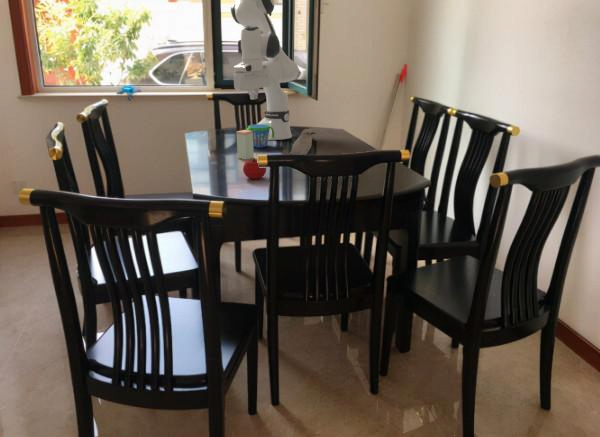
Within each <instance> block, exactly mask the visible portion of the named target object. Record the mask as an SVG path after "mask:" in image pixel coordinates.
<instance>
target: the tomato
mask: <svg viewBox="0 0 600 437" xmlns="http://www.w3.org/2000/svg"><path fill="white" fill-rule="evenodd" d="M242 172H243V174H244V176H245V177H247V178H248V179H250V180H260V179H261V178H263V177H264V176H265V174H266V172H267V167H266V168H259V167H258V163H257V158H255V157H254V158H251V159H248V160H245V162H244V164H243V168H242Z"/></svg>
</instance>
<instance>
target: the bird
mask: <svg viewBox="0 0 600 437" xmlns="http://www.w3.org/2000/svg"><path fill="white" fill-rule="evenodd" d="M315 134H316V132H314V131H313V130H312V129H309V128H305V129H303V130H302V131H301V132H300V135H299V136H298V137H297V139H296V140H295V141H294V144H293V146H292V147H291V150H290V151H289V152H288V155H289V154H306V155H307V154H308V153H309V151H310V149H311V148H312V143H313V139H312V138H313V135H315Z"/></svg>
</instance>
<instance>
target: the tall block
mask: <svg viewBox="0 0 600 437" xmlns="http://www.w3.org/2000/svg"><path fill="white" fill-rule="evenodd" d="M236 150H237V159H238V158H242V159H241V160H243V159H248V160H251V159H254V158H255V157H254V156H255V155H254V147H253V131H249V130H246V129H242V130H238V131H236ZM253 157H254V158H253ZM250 158H251V159H250Z"/></svg>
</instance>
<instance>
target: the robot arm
mask: <svg viewBox="0 0 600 437" xmlns="http://www.w3.org/2000/svg"><path fill="white" fill-rule="evenodd" d="M274 9H275V0H234V2H233V4H232V5H231V7H230V14H231V16H232V18H233V21H234V22H235V23H237V24H238V25H241V26H242V28H241V32H240V36H239V37H238V39H236V42H237V49H238V50H237V53H238V54H239V55H240V56H241V62H239V63H238V64H236V65H234V66H233V67H232V68H233V72H234V74H233V88H234V89H235V91H247V93H248V95H249V99H250V100H257V99H258V96H259V92H260V89H261V88H262V89H263V91H264V94H265V97H266V110H265V111H262V113H263V115H264V118H262V120H260V121H259V122H258V123H257V124H265V125H269V126H270V127H272V128H273V130H274V138H272V137H271V136H272V130H271V128H270V130H269V136H268V141H274V140H278V141H279V140H280V141H282V140H286V139H287V140H288V139H291V138H292V137H293V136H292V132H291V127H290V110H289V95H288V94H287V93H286V91H284V90H282V87H281V83H289V82H292V81H295V80H296V79H297V77H299V70H300V69H299V66H298V64H297V62H295V61H294V60H292V59H291V58H290V57H289V56H288V55H287V54H286V53H285V52H284V50H283V48H282V46H281V43H280V40H279V37H278V36H277V33H276V30H275V27H274V24H273V23H272V20H271V18H270V17H272V13H273V11H274ZM263 58H265V59H266V60H265V61H263Z"/></svg>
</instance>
